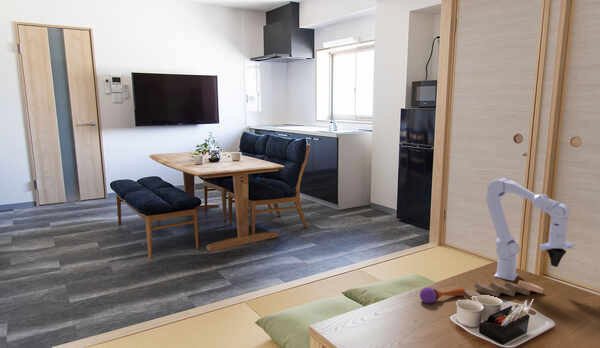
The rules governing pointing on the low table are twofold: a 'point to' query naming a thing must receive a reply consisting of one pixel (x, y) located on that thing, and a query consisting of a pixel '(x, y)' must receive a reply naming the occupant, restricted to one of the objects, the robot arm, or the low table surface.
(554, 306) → the low table surface
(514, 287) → the walnut domino
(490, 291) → the walnut domino
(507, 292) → the walnut domino
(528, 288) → the terracotta domino
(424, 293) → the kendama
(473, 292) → the walnut domino
